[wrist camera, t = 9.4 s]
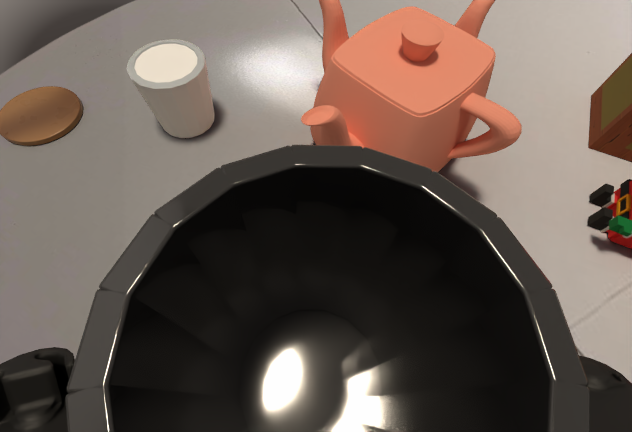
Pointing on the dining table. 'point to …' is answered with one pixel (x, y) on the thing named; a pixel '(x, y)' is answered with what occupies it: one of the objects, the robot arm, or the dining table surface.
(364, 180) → the gray cup
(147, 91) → the white cup
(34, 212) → the dining table surface
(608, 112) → the box
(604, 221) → the figurine
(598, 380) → the robot arm
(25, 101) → the coaster
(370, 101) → the pot
